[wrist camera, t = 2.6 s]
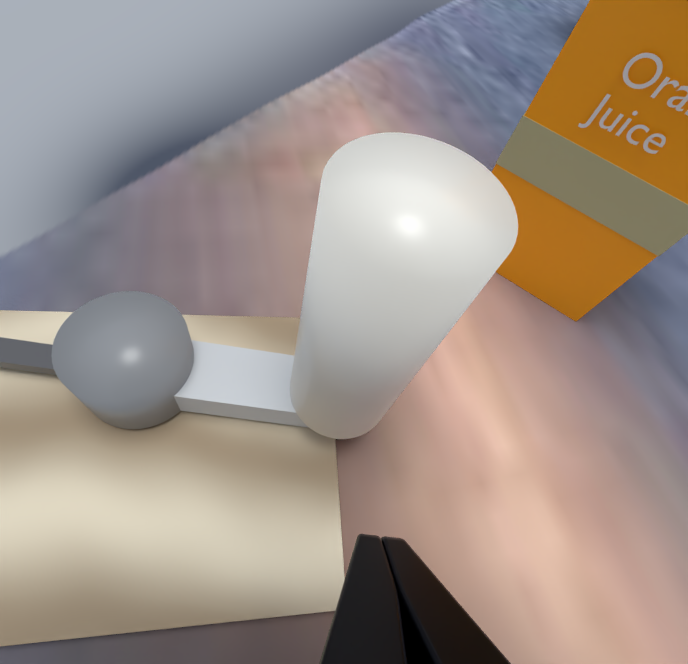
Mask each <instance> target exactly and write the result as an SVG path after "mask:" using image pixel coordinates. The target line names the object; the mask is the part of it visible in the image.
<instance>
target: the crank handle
mask: <svg viewBox="0 0 688 664" xmlns="http://www.w3.org/2000/svg"><path fill="white" fill-rule="evenodd" d="M517 235H518V219H517V214H516V210H515V207H514V204H513V202H512V200H511V197H510V196H509V194H508V192H507V191H506V189H505V188H504V186H503V185H502V184H501V182H500V181H499V180H498V179H497V178H496V177H495V176H494V175H493V173H492V172H490V171H489V170H488V169H487V168H486V167H485V166H484V165H482V164H481V163H480V162H478V161H477V160H476V159H474V158H473V157H471V156H470V155H468V154H466V153H465V152H463V151H461V150H459V149H457V148H455V147H453V146H451V145H449V144H446V143H444V142H441V141H438V140H435V139H432V138H429V137H425V136H421V135H415V134H409V133H377V134H372V135H367V136H363V137H360V138H357V139H355V140H353V141H351V142H349V143H347V144H345V145H344V146H342V147H341V148H339V149H338V150H337V151H336V152H335V153H334V154H333V155H332V157H331V158H330V159H329V161H328V162H327V164H326V166H325V168H324V171H323V175H322V179H321V186H320V192H319V199H318V205H317V212H316V218H315V225H314V231H313V238H312V244H311V251H310V257H309V264H308V270H307V277H306V283H305V290H304V296H303V303H302V309H301V316H300V322H299V329H298V335H297V342H296V349H295V355H287V354H281V353H274V352H267V351H261V350H254V349H247V348H241V347H234V346H227V345H221V344H214V343H207V342H200V341H194V340H191V337H190V334H189V331H188V327H187V324H186V322H185V319H184V318H183V316H182V314H181V313H180V312H179V311H178V309H177V308H176V307H175V306H173V305H172V304H171V303H170V302H168V301H167V300H165V299H163V298H161V297H159V296H156V295H153V294H150V293H145V292H137V291H124V292H116V293H111V294H107V295H104V296H101V297H98V298H96V299H93V300H91V301H89V302H88V303H86V304H84V305H83V306H81V307H80V308H78V309H77V310H76V311H74V312H73V313H72V314H71V315H70V316H69V317H68V318H67V319H66V320H65V322H64V323H63V324H62V325H61V327H60V329H59V330H58V332H57V334H56V336H55V339H54V342H53V345H51V344H44V343H37V342H31V341H24V340H17V339H10V338H3V337H0V367H1V368H8V369H16V370H23V371H30V372H38V373H45V374H52V375H57V377H58V378H59V380H60V381H61V382H62V383H63V384H64V385H65V386H66V387H67V388H68V389H69V390H70V391H71V392H72V393H73V394H74V395H75V396H76V397H77V398H78V399H79V400H80V401H81V402H82V403H83V404H84V405H85V406H86V407H87V408H88V409H89V410H90V411H91V412H93V413H94V414H95V415H96V416H97V417H98V418H99V419H100V420H102V421H103V422H105V423H107V424H109V425H112V426H115V427H118V428H123V429H143V428H148V427H152V426H155V425H158V424H160V423H163V422H165V421H167V420H168V419H170V418H172V417H173V416H175V415H176V414H177V413H179V412H180V411H188V412H195V413H203V414H210V415H218V416H225V417H233V418H240V419H248V420H256V421H263V422H271V423H278V424H286V425H293V426H301V427H309V428H310V429H312V430H313V431H315V432H317V433H319V434H321V435H323V436H326V437H329V438H334V439H350V438H355V437H358V436H361V435H363V434H365V433H367V432H369V431H370V430H372V429H373V428H374V427H375V426H376V425H377V424H378V423H379V422H380V420H381V419H382V418H383V416H384V415H385V414H386V413H387V411H388V410H389V409H390V407H391V406H392V405H393V403H394V402H395V401H396V400H397V398H398V397H399V396H400V394H401V393H402V392H403V391H404V389H405V388H406V387H407V385H408V384H409V383H410V382H411V380H412V379H413V378H414V376H415V375H416V374H417V372H418V371H419V370H420V369H421V367H422V366H423V365H424V363H425V362H426V361H427V360H428V358H429V357H430V356H431V354H432V353H433V352H434V351H435V349H436V348H437V347H438V345H439V344H440V343H441V341H442V340H443V339H444V338H445V336H446V335H447V334H448V332H449V331H450V330H451V329H452V327H453V326H454V325H455V323H456V322H457V321H458V320H459V318H460V317H461V316H462V314H463V313H464V312H465V310H466V309H467V308H468V307H469V305H470V304H471V303H472V301H473V300H474V299H475V298H476V296H477V295H478V294H479V292H480V291H481V290H482V289H483V287H484V286H485V285H486V283H487V282H488V281H489V279H490V278H491V277H492V276H493V274H494V273H495V272H496V270H497V269H498V268H499V267H500V265H501V264H502V263H503V261H504V260H505V259H506V258H507V256H508V255H509V254H510V252H511V251H512V249H513V247H514V245H515V242H516V239H517Z"/></svg>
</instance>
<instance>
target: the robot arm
mask: <svg viewBox="0 0 688 664" xmlns="http://www.w3.org/2000/svg"><path fill="white" fill-rule="evenodd" d="M319 664H511V663H510V662H509V661H508V660H507V659H506V658H505V656H504V655H503V654H502V653H501V652H500V651H499V649H498V648H497V647H496V646H495V645H494V644H493V642H492V641H491V640H490V639H489V638H488V637H487V635H486V634H485V633H484V632H483V631H482V630H481V628H480V627H479V626H478V625H477V624H476V623H475V621H474V620H473V619H472V618H471V617H470V616H469V614H468V613H467V612H466V611H465V610H464V609H463V608H462V606H461V605H460V604H459V603H458V602H457V601H456V599H455V598H454V597H453V596H452V595H451V594H450V592H449V591H448V590H447V589H446V588H445V587H444V585H443V584H442V583H441V582H440V581H439V580H438V578H437V577H436V576H435V575H434V574H433V573H432V571H431V570H430V569H429V568H428V567H427V566H426V564H425V563H424V562H423V561H422V560H421V559H420V557H419V556H418V555H417V554H416V553H415V552H414V550H413V549H412V548H411V547H410V546H409V545H408V543H407V542H406V541H405V540H403V539H401V538H394V537H382V538H380V537H379V536H376V535H366V534H360V535H358V537H357V540H356V543H355V547H354V550H353V553H352V557H351V560H350V563H349V567H348V570H347V573H346V577H345V580H344V583H343V587H342V590H341V593H340V597H339V600H338V603H337V607H336V610H335V613H334V617H333V620H332V623H331V627H330V630H329V633H328V637H327V640H326V643H325V647H324V650H323V653H322V657H321V660H320V663H319Z"/></svg>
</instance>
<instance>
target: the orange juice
mask: <svg viewBox="0 0 688 664" xmlns="http://www.w3.org/2000/svg"><path fill="white" fill-rule="evenodd" d="M492 173H493V175H494V176H495V177H496V178H497V179H498V180H499V181H500V182H501V184H502V185H503V186H504V188H505V189H506V191H507V192H508V194H509V196H510V197H511V200H512V202H513V204H514V207H515V210H516V214H517V219H518V235H517V239H516V242H515V245H514V247H513V249H512V251H511V252H510V254H509V255H508V256H507V258H506V259H505V260H504V261H503V263H502V264H501V265H500V267H499V268H498V269H497V270H496V272H497V273H498V274H500V275H501V276H503V277H505V278H506V279H508V280H510V281H511V282H513V283H514V284H516V285H518V286H519V287H521V288H522V289H524V290H526V291H527V292H529V293H530V294H532V295H534V296H535V297H537V298H538V299H540V300H542V301H543V302H545V303H547V304H548V305H550V306H551V307H553V308H555V309H556V310H558V311H559V312H561V313H563V314H564V315H566V316H567V317H569V318H571V319H572V320H574V321H577V320H579V319H580V318H581V317H582V316H584V315H585V314H586V313H587V312H589V311H590V310H591V309H592V308H594V307H595V306H596V305H597V304H598V303H600V302H601V301H602V300H603V299H605V298H606V297H607V296H608V295H610V294H611V293H612V292H613V291H615V290H616V289H617V288H618V287H620V286H621V285H622V284H623V283H625V282H626V281H627V280H628V279H630V278H631V277H632V276H633V275H635V274H636V273H637V272H638V271H639V270H641V269H642V268H643V267H644V266H646V265H647V264H648V263H649V262H651V261H652V260H653V259H654V258H656V257H657V256H660V255H661V254H662V253H664V252H665V251H666V250H667V249H669V248H670V247H671V246H672V245H674V244H675V243H676V242H677V241H679V240H680V239H681V238H682V237H684V236H685V235H686V234H687V233H688V0H590V1H589V3H588V5H587V7H586V8H585V10H584V12H583V13H582V15H581V17H580V19H579V20H578V22H577V24H576V26H575V27H574V29H573V31H572V33H571V34H570V36H569V38H568V40H567V41H566V43H565V45H564V47H563V48H562V50H561V52H560V54H559V55H558V57H557V59H556V61H555V62H554V64H553V66H552V68H551V69H550V71H549V73H548V75H547V76H546V78H545V80H544V82H543V83H542V85H541V87H540V89H539V90H538V92H537V94H536V96H535V97H534V99H533V101H532V103H531V104H530V106H529V108H528V110H527V111H526V112H525V114H524V115H523V116H522V118H521V120H520V121H519V123H518V125H517V127H516V128H515V130H514V132H513V134H512V135H511V137H510V139H509V141H508V142H507V144H506V146H505V148H504V149H503V151H502V153H501V155H500V157H499V158H498V160H497V162H496V165H495V167H494V169H493V171H492Z"/></svg>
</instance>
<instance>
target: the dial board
mask: <svg viewBox="0 0 688 664" xmlns="http://www.w3.org/2000/svg"><path fill="white" fill-rule="evenodd" d="M72 313H73V312H44V311H3V310H0V337H3V338H10V339H17V340H24V341H31V342H37V343H44V344H51V345H53V342H54V339H55V336H56V334H57V332H58V330H59V329H60V327H61V325H62V324H63V323H64V322H65V320H66V319H67V318H68V317H69V316H70V315H71V314H72ZM182 316H183V318H184V319H185V322H186V324H187V327H188V331H189V334H190V337H191V340H194V341H200V342H207V343H214V344H221V345H227V346H234V347H241V348H247V349H254V350H261V351H267V352H274V353H281V354H287V355H295V349H296V342H297V335H298V329H299V322H300V318H291V317H250V316H209V315H182ZM344 580H345V579H344V564H343V548H342V533H341V518H340V503H339V488H338V473H337V458H336V443H335V439H334V438H329V437H326V436H323V435H321V434H319V433H317V432H315V431H313V430H312V429H310V428H309V427H301V426H293V425H286V424H278V423H271V422H263V421H256V420H248V419H240V418H233V417H225V416H218V415H210V414H203V413H195V412H188V411H180V412H179V413H177V414H176V415H175V416H173V417H172V418H170V419H168V420H167V421H165V422H163V423H160V424H158V425H155V426H152V427H148V428H143V429H123V428H118V427H115V426H112V425H109V424H107V423H105V422H103V421H102V420H100V419H99V418H98V417H97V416H96V415H95V414H94V413H93V412H91V411H90V410H89V409H88V408H87V407H86V406H85V405H84V404H83V403H82V402H81V401H80V400H79V399H78V398H77V397H76V396H75V395H74V394H73V393H72V392H71V391H70V390H69V389H68V388H67V387H66V386H65V385H64V384H63V383H62V382H61V381H60V380H59V378H58V377H57V375H52V374H45V373H38V372H30V371H23V370H16V369H8V368H1V367H0V646H8V645H18V644H27V643H37V642H46V641H55V640H65V639H74V638H84V637H93V636H102V635H112V634H121V633H131V632H140V631H149V630H159V629H168V628H177V627H187V626H196V625H206V624H215V623H224V622H234V621H243V620H253V619H262V618H271V617H281V616H290V615H300V614H309V613H318V612H328V611H335V610H336V607H337V603H338V600H339V597H340V593H341V590H342V587H343V583H344Z"/></svg>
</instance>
